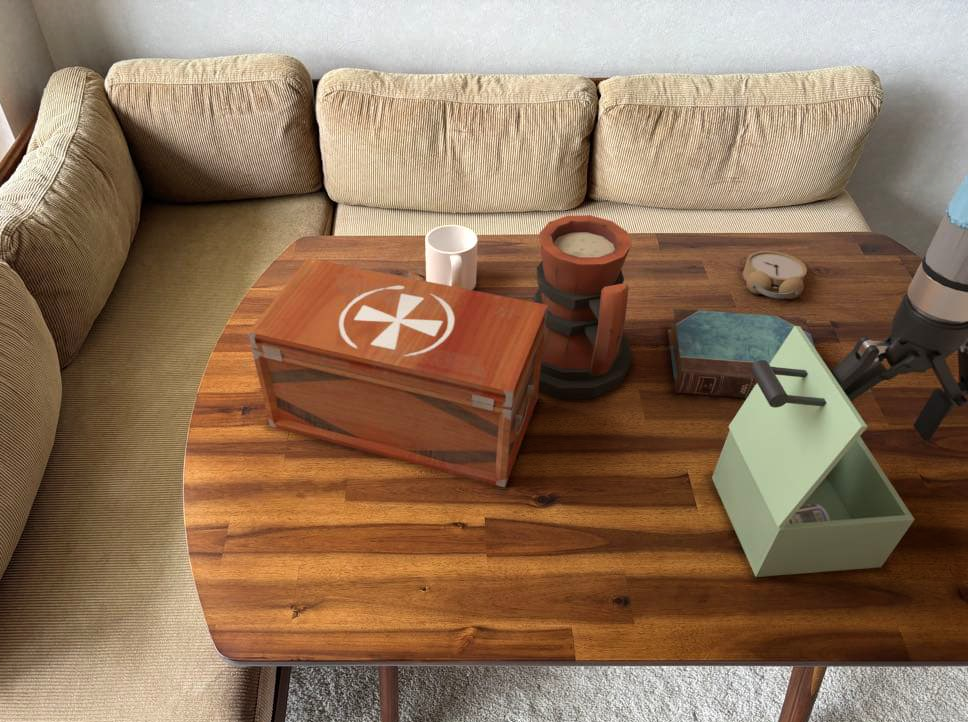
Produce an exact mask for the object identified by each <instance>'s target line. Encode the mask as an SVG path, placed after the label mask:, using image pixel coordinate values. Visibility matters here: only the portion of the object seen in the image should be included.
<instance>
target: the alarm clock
mask: <svg viewBox="0 0 968 722" xmlns="http://www.w3.org/2000/svg"><path fill="white" fill-rule="evenodd" d="M807 272H808V268H807V266H806V264H805V263H804V262H803V261H802V260H800V259H798V258H797V257H795V256H793V255H790V254H788V253H784V252H780V251H775V250H760V251H756V252H752V253H751V254H749V255H747V258H746V260H745V265H744V268H743V271H742V278H743V279H744V280H745V282H746V287H747V290H748V291H749V292H751V293H752V294H753V295H757V296H758V295H759V296H760V295H763V296H765V297H769V298H772V299H784V300H793V299H796V298H798V297H799V296H800V295H801V294H802V292H803V291H804V288H805V283H804V279H805V277H806V275H807Z"/></svg>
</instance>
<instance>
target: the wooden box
mask: <svg viewBox="0 0 968 722" xmlns="http://www.w3.org/2000/svg"><path fill="white" fill-rule="evenodd" d="M547 306H548V305H545V304H540V303H535V302H533V301H529V300H524V299H518V298H514V297H510V296H509V297H508V296H504V295H498V294H493V293H488V292H483V291H478V290H474V289H473V290H468V289H463V288H458V287H453V286H448V285H443V284H438V283H432V282H427V281H426V280H422V279H417V278H412V277H407V276H401V275H396V274H391V273H386V272H380V271H375V270H370V269H365V268H362V267H361V268H360V267H356V266H350V265H345V264H339V263H334V262H330V261H324V260H319V259H313V258H309V257H307V259H306V260H305V261H304V263H302V265H301V266H300V267H299V269H298V270H297V271H296V272H295V274H294V275H293V276H292V277H291V278H290V280H289V281H288V282H287V283H286V284H285V285H284V286H283V288H282V289H281V290H280V292H279V293H278V294H277V295H276V297H274V299H273V300H272V302H271V303H270V304H269V305H268V306H267V308H266V309H265V310H264V311H263V313H262V314H261V315H260V316H259V318H258V319H257V320H256V321H255V322H254V323H253V325H252V326H251V327H250V328H249V330H248V331H247V334H248V338H249V343H250V347H251V348H252V350H251V351H252V356H253V360H254V365H255V368H256V373H257V377H258V381H259V385H260V389H261V394H262V398H263V402H264V407H265V411H266V415H267V420H268V423H269V427H271V428H275V429H278V430H282V431H285V432H286V431H287V432H290V433H294V434H298V435H301V436H305V437H309V438H314V439H317V440H321V441H324V442H329V443H332V444H336V445H340V446H343V447H348V448H352V449H356V450H359V451H364V452H367V453H371V454H373V455H374V454H375V455H378V456H383V457H386V458H391V459H394V460H398V461H402V462H406V463H408V464H409V463H410V464H413V465H416V466H421V467H424V468H428V469H432V470H436V471H440V472H444V473H448V474H450V475H456V476H459V477H463V478H467V479H471V480H475V481H479V482H482V483H486V484H489V485H493V486H497V487H502V488H506V486H507V483H508V480H509V478H510V476H511V472H512V469H513V467H514V464H515V462H516V458H517V457H518V453H519V452H520V451H519V450H520V448H521V445H522V442H523V440H524V437H525V434H526V432H527V429H528V426H529V423H530V421H531V417H532V415H533V413H534V409H535V407H536V404H537V401H538V395H539V392H538V387H539V378H540V369H541V360H542V351H543V342H544V334H545V326H546V323H545V322H546V315H547Z"/></svg>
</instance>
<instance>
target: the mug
mask: <svg viewBox="0 0 968 722" xmlns="http://www.w3.org/2000/svg"><path fill="white" fill-rule="evenodd" d="M424 239H425V240H424V243H425V244H424V245H425V248H424V250H425V281H427V282H432V283H438V284H443V285H448V286H453V287H458V288H463V289H468V290H473V291H474V289H475V288H476V285H477V269H478V268H477V266H478V265H477V263H478V236H477V234H476V232H474V231H473V230H472V229H471V228H468V227H466V226H462V225H459V224H445V225H439V226H437V227H434V228H433V229H431V230H429V231H428V232H427V233H426V235H425V237H424Z"/></svg>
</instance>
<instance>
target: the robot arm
mask: <svg viewBox="0 0 968 722" xmlns="http://www.w3.org/2000/svg"><path fill="white" fill-rule="evenodd" d="M923 256H924V257H923V258H922V260H921V262H920V264H919V266H918V268H917V269H916V272H915V274H914V276H913V278H912V280H911V283H910V284H909V286H908V288H907V292H906V293H905V295H904V296H903V298H902V299H901V302H900V304H899V305H898V308H897V309H896V311H895V314H894V316H893V318H892V324H891V332H890V333H889V334H888V335H887V336H886V337H885V338H884V339H883V340H873V339H871V337H870V336H869V335H863V336H861V337H859V339H858V340H857V342H856V344H855V346H854V347H853V348H852V350H851V351H850V353H848V354H847V355H846V356H845V357H844V358H843V359H841V360H840V362H839V363H838V364H837V365H835V367H833V368H832V369H831V370H830V372H831V373H832V375H833V376H834V378H835V379H836V381H837V382H838V383H839V385H840V386H841V388H842V389H843V391H844V392H845V394H846V395H847V397H848V398H849V400H850V401H851V402H852V401H854V400H855V399H857V398H859V397H861V396H862V395H863V394H865V393H866V392H867V391H869V390H871V389H872V388H874V387H876V386H877V385H878V384H880V383H881V382H883V381H891V380H892V379H894V378H895V377H897V376H898V375H907V374H910V373H917V374H918V373H919V374H920V373H926V372H927V371H928V370H932V372H933V373H934V375H935V377H936V379H937V380H938V382H939V384H940V385H941V387H942V389H943V390H942V389H941V388H935V389H933V391H932V393H931V394H930V396H929V398H928V399H927V402H926V403H925V404H924V406H923V408H922V410H921V411H920V413H919V415H918V417H917V418H916V420H915V421H914V423H913V425H912V426H913V428H914V429H915V430H916V431H917V433H918V434H919V436H920V438H921V439H922V440H923V441H924V442H925V441H931V439H932V438H933V436H934V435H935V433H936V431H937V430H938V428H939V427H940V426H941V424H942V422H943V421H944V419H945V418H947V417H948V416H950V414H951V412H952V411H953V409H954V408H955V406H957V407H963V406H965V405H967V404H968V399H967V398H966V397H968V173H967V174H966V176H965V177H964V178H963V180H962V182H961V183H960V185H959V186H958V188H957V190H956V191H955V193H954V194H953V196H952V198H951V200H950V201H949V202H948V204H947V206H946V209H945V211H944V215H943V218H942V219H941V222H940V223H939V225H938V228H937V230H936V232H935V234H934V236H933V238H932V240H931V242H930V245H929V247H927V251H926V253H925V255H923ZM956 352H957V364H958V365H957V366H958V367H957V368H958V382H957V381H956V378H955V377H954V375H953V374H952V370H951V367H950V366H949V365H948V363H947V361H946V360H947V358H949V357H950V356H952V355H953V354H954V353H956ZM884 360H886V362H887V364H888V365H889V366H890V367H889V368H886V366H885V365H884V364H883V361H884Z"/></svg>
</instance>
